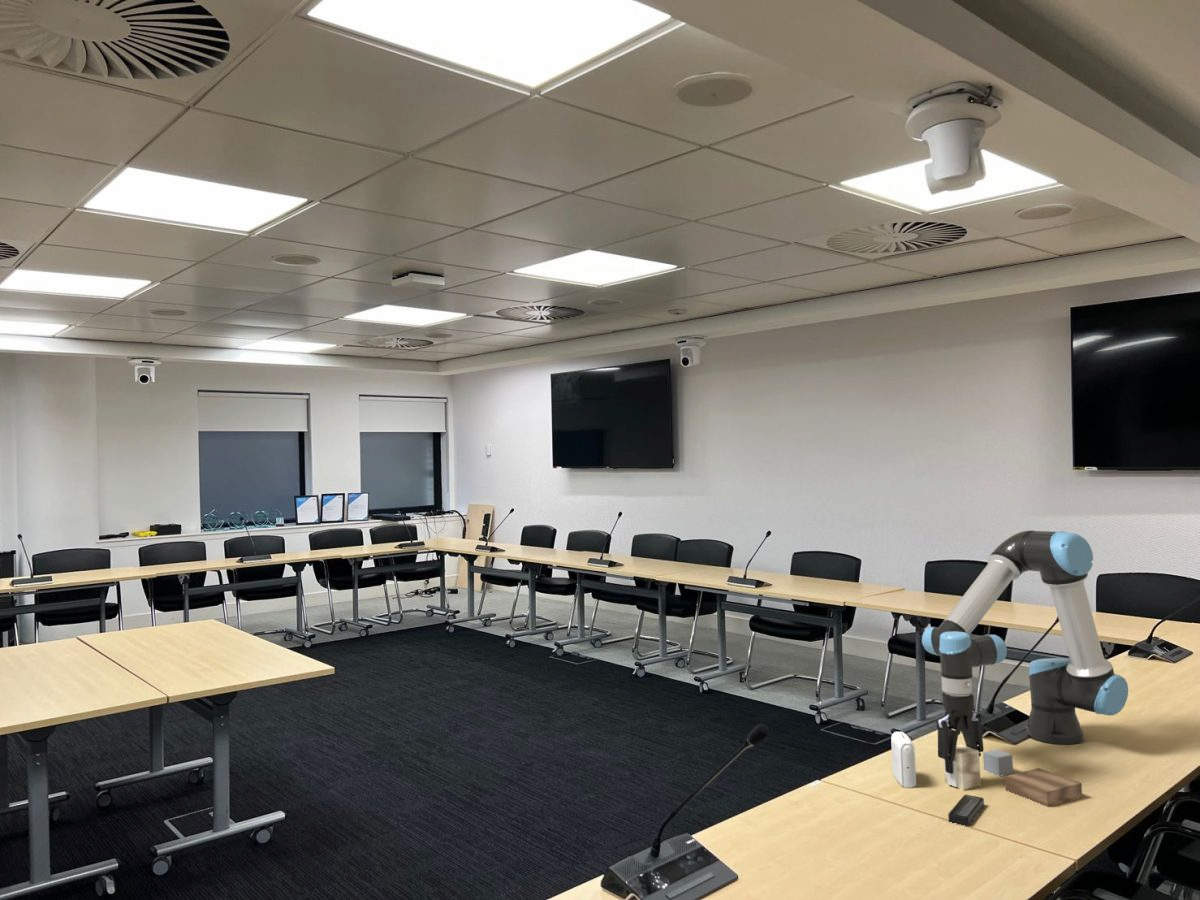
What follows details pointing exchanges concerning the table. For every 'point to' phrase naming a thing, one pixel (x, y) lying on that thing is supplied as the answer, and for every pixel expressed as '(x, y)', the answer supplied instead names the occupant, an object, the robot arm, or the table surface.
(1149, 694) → the table surface
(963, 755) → the ash block
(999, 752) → the slate grey block
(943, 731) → the robot arm
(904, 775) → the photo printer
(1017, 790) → the walnut base block
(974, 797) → the multiport hub
